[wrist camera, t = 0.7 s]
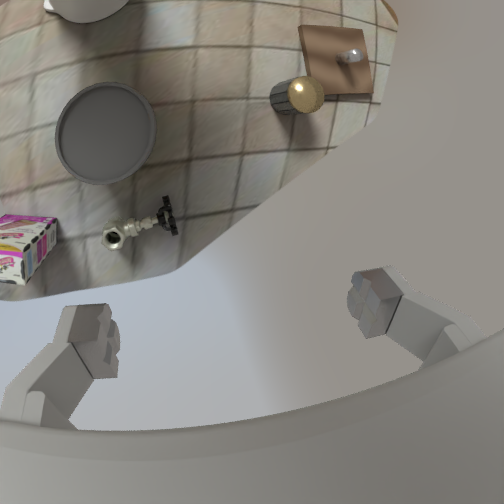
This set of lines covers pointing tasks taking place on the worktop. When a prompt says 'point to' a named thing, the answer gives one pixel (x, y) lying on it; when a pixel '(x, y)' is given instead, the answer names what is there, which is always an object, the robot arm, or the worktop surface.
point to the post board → (323, 59)
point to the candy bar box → (24, 246)
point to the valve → (136, 226)
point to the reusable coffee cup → (105, 133)
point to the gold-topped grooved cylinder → (297, 96)
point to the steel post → (349, 56)
